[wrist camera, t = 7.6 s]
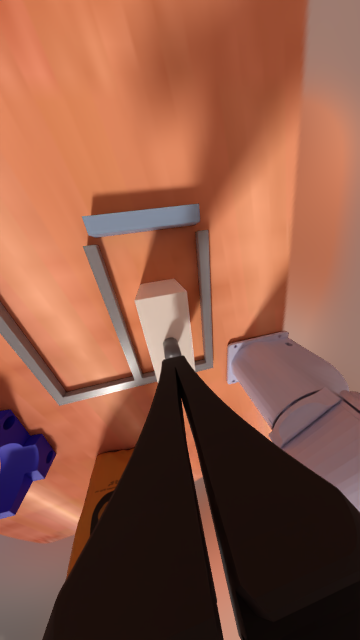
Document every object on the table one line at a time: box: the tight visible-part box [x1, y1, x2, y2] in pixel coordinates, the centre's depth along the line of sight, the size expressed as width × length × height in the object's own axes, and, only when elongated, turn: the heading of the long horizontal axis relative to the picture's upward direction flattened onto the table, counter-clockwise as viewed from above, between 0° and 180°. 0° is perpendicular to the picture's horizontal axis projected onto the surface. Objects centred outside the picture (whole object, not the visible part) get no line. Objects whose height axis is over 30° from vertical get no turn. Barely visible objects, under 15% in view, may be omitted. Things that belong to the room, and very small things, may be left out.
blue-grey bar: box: [82, 204, 200, 238], centre depth 12 cm, size 9×1×2 cm, turn 97°
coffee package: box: [66, 448, 134, 579], centre depth 18 cm, size 10×12×22 cm
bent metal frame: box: [0, 230, 213, 406], centre depth 16 cm, size 21×17×1 cm
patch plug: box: [135, 279, 195, 382], centre depth 13 cm, size 4×8×8 cm, turn 7°
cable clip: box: [0, 409, 56, 519], centre depth 18 cm, size 12×4×6 cm, turn 178°
